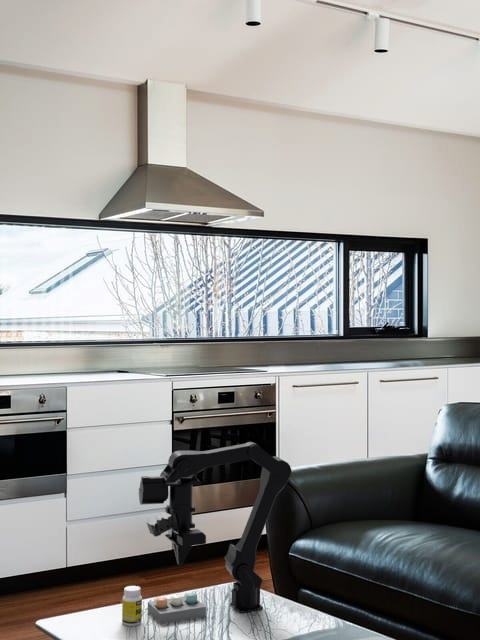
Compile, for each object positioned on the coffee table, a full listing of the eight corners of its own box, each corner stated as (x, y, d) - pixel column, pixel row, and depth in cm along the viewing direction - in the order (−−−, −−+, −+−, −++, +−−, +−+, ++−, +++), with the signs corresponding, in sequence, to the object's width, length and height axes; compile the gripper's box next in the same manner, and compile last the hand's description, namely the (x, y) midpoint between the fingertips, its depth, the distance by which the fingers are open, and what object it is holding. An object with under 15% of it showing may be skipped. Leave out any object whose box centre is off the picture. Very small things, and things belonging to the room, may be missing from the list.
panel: (191, 604, 221) (191, 595, 221) (205, 616, 213) (205, 606, 213) (147, 611, 215) (147, 601, 215) (160, 623, 207) (160, 613, 207)
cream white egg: (179, 610, 216) (179, 594, 216) (183, 613, 213) (184, 597, 213) (169, 611, 215) (169, 595, 215) (173, 615, 212) (173, 599, 212)
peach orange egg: (164, 612, 214) (164, 596, 214) (168, 616, 212) (169, 600, 212) (154, 614, 213) (154, 598, 213) (158, 617, 210) (158, 601, 210)
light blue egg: (194, 607, 218) (194, 592, 218) (198, 611, 215) (198, 595, 215) (184, 609, 216) (184, 593, 216) (188, 613, 214) (188, 597, 214)
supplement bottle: (138, 627, 205) (138, 592, 205) (119, 625, 206) (119, 590, 206) (144, 619, 210) (144, 585, 210) (125, 618, 211) (126, 584, 211)
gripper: (137, 497, 219) (137, 558, 219) (163, 514, 202) (163, 579, 202) (178, 493, 224) (177, 553, 224) (207, 509, 207) (206, 574, 207)
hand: (180, 564), depth 214 cm, fingers closed
